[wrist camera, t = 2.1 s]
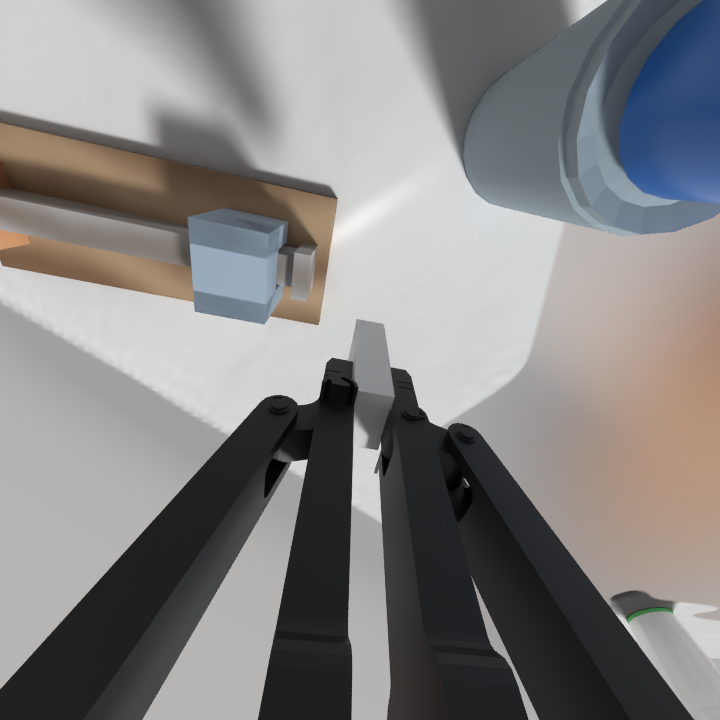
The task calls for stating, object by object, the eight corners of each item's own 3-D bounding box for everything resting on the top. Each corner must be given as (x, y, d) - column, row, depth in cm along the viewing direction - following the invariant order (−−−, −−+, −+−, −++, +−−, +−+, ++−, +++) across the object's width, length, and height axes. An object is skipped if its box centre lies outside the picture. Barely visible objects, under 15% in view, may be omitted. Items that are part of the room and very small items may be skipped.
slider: (224, 207, 24) (187, 216, 19) (288, 221, 25) (268, 234, 20) (226, 286, 28) (194, 311, 23) (282, 296, 28) (264, 324, 23)
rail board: (-42, 112, 23) (-187, 90, 17) (337, 198, 25) (329, 206, 19) (13, 263, 28) (-82, 287, 22) (319, 320, 31) (308, 356, 25)
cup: (606, 629, 67) (665, 739, 54) (631, 602, 61) (704, 720, 48) (665, 629, 67) (739, 740, 54) (696, 602, 60) (788, 721, 47)
